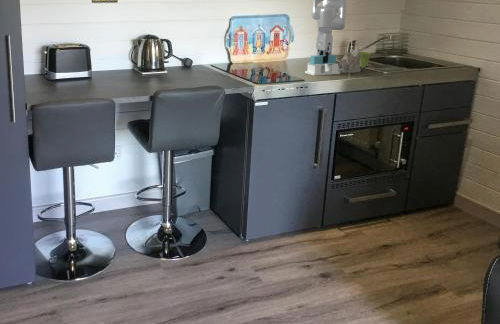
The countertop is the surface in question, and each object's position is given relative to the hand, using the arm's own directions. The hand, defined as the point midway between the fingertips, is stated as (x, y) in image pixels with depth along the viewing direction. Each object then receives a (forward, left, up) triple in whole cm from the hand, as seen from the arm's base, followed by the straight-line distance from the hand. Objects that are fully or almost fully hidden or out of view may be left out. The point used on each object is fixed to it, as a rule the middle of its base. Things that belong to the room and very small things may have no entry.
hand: (323, 61), depth 336 cm
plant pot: (-13, +38, -7) cm, 41 cm away
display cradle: (0, 0, -7) cm, 7 cm away
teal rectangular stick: (0, 0, -1) cm, 1 cm away
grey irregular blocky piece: (-4, +20, -7) cm, 22 cm away
